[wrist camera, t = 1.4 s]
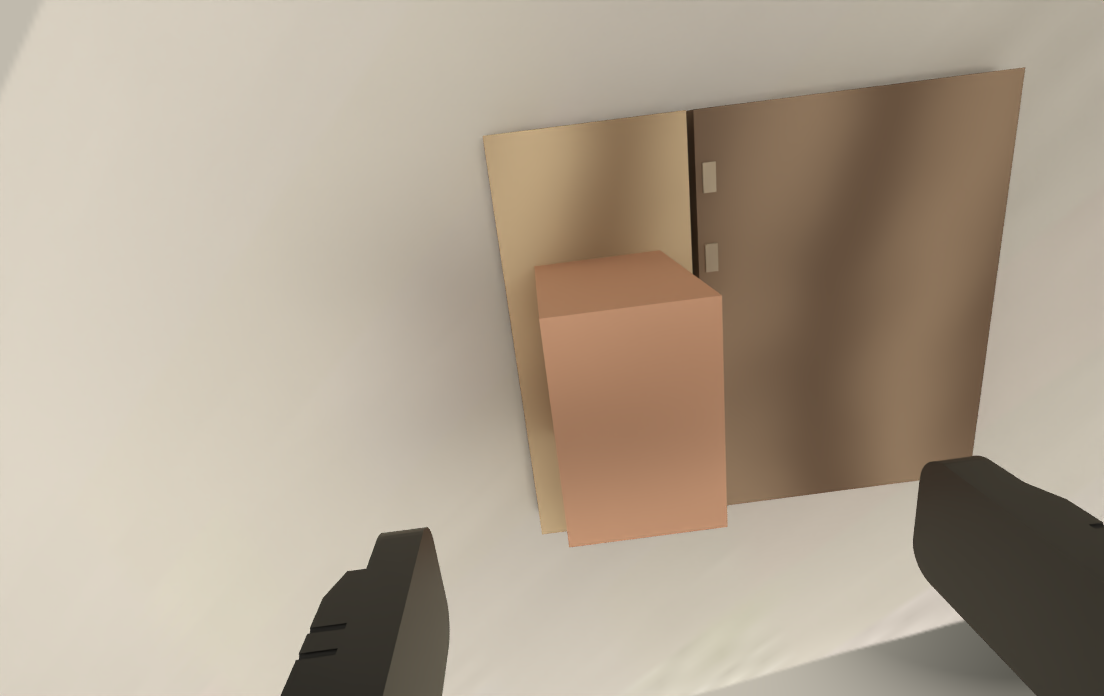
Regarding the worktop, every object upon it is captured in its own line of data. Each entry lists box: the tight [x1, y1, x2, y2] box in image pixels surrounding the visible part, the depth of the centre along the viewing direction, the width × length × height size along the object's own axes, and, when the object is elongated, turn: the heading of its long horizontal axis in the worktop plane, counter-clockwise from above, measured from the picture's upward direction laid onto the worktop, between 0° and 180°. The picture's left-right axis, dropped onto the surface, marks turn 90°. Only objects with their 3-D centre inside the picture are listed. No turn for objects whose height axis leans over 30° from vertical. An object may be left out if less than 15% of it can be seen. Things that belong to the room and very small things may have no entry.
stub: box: [483, 110, 727, 547], centre depth 17 cm, size 6×14×7 cm, turn 7°
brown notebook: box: [686, 68, 1025, 505], centre depth 20 cm, size 10×14×1 cm
